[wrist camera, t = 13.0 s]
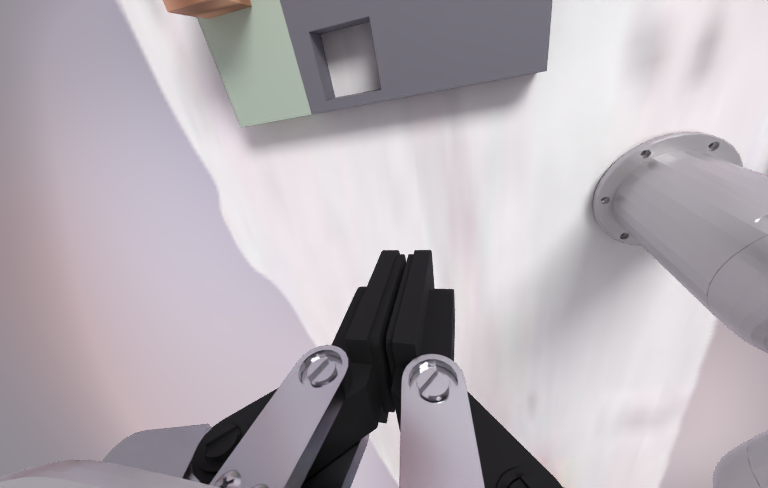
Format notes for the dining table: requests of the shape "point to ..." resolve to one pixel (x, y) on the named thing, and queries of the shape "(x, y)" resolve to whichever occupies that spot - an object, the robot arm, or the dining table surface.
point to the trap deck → (391, 42)
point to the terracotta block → (205, 7)
